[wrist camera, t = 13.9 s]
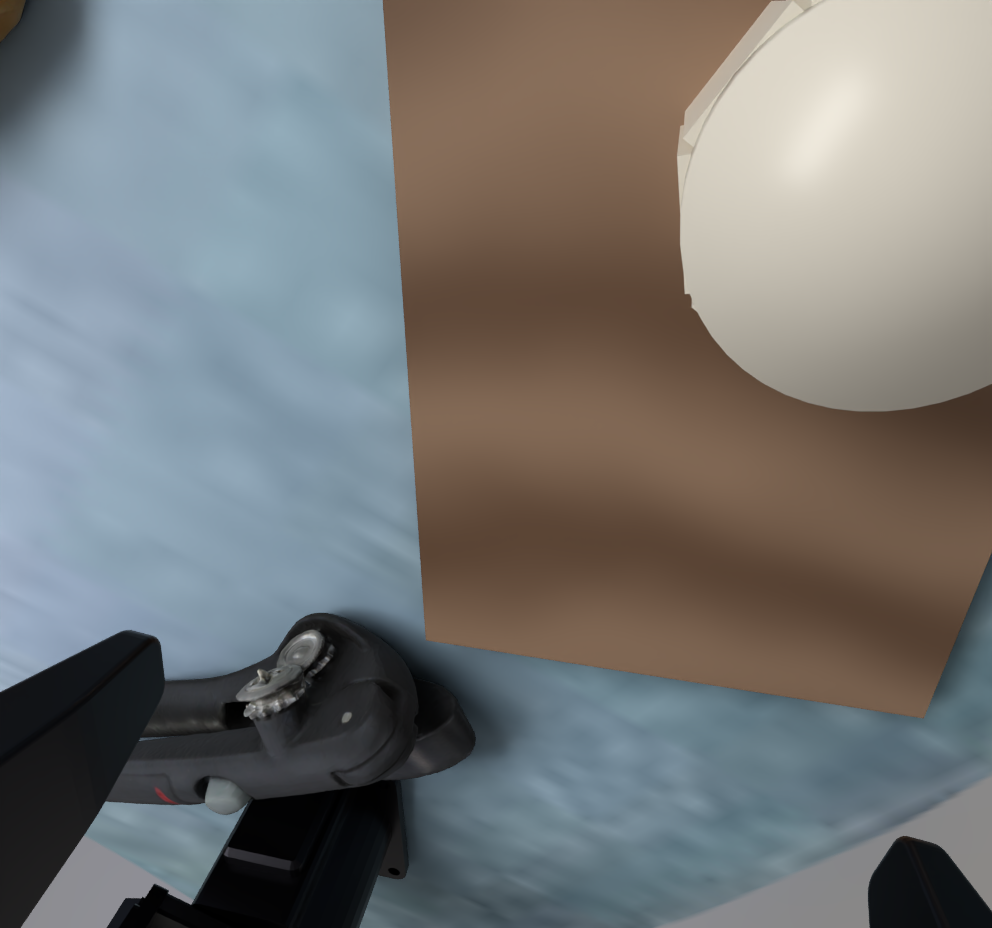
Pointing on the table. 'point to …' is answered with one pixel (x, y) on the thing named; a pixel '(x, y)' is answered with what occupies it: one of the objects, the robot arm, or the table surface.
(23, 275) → the table surface
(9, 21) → the pastry
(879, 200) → the cap
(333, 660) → the can opener
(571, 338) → the board
